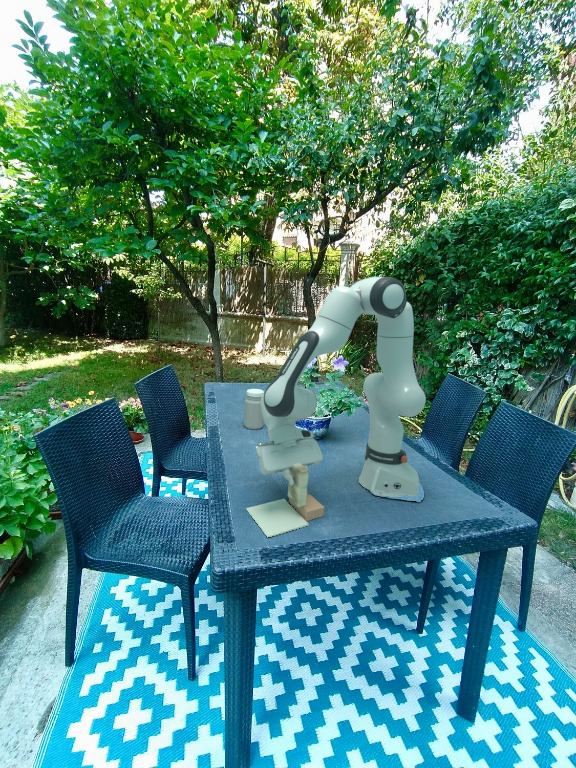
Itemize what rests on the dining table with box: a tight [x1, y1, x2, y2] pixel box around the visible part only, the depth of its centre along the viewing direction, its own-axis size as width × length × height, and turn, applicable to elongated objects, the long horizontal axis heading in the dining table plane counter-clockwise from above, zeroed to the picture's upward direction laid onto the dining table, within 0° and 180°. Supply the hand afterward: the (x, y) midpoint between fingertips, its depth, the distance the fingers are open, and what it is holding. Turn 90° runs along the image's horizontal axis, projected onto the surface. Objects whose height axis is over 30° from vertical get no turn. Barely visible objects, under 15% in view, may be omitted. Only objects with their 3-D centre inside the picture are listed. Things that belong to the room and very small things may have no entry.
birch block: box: [287, 463, 310, 507], centre depth 102 cm, size 6×2×11 cm, turn 30°
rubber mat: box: [245, 498, 310, 539], centre depth 101 cm, size 14×13×1 cm
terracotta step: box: [288, 491, 325, 522], centre depth 106 cm, size 10×6×3 cm, turn 30°
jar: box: [243, 388, 265, 431], centre depth 169 cm, size 10×10×18 cm
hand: (299, 483), depth 102 cm, fingers closed on birch block, 2 cm apart
